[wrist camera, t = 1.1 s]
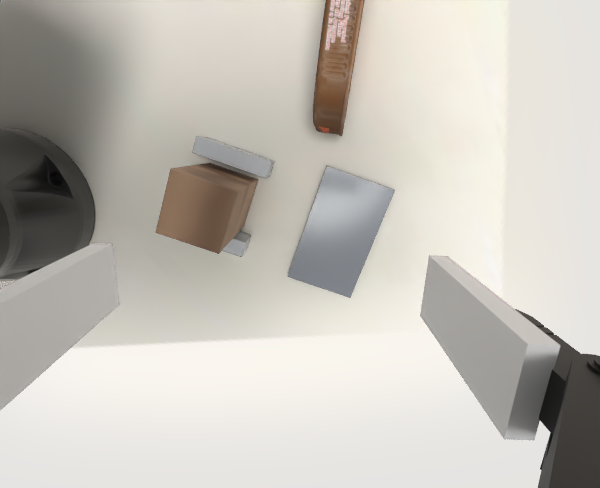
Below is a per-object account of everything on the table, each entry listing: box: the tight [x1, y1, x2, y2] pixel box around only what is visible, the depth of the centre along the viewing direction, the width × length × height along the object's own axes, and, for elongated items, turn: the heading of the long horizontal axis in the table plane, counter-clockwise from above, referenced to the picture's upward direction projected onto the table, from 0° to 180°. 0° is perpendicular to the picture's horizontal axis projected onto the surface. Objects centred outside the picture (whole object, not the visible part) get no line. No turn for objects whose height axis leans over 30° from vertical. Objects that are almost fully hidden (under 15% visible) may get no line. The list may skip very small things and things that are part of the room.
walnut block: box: [156, 163, 258, 254], centre depth 31 cm, size 5×5×10 cm
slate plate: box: [288, 166, 395, 298], centre depth 36 cm, size 7×12×1 cm, turn 161°
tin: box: [313, 0, 364, 136], centre depth 28 cm, size 15×3×8 cm, turn 172°
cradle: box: [192, 136, 274, 257], centre depth 34 cm, size 7×10×3 cm
